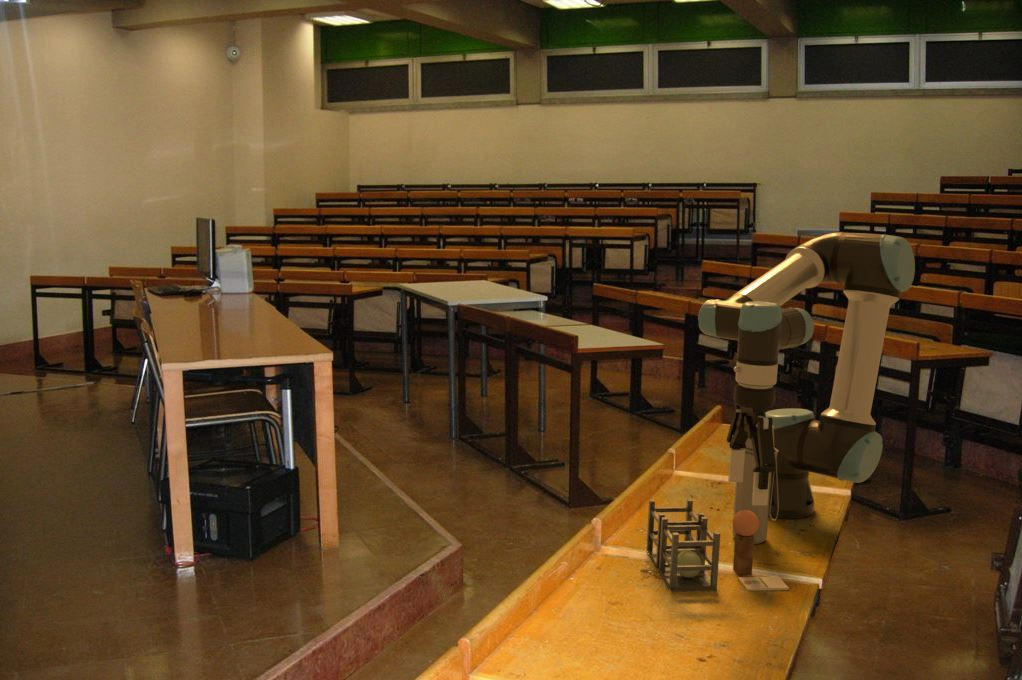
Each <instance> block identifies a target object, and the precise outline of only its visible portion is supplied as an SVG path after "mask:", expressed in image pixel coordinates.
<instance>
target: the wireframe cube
mask: <svg viewBox="0 0 1022 680" xmlns="http://www.w3.org/2000/svg"><path fill="white" fill-rule="evenodd" d="M685 505H686V506H672V507H671V506H669V507H667V506H663V507H662V506H661V507H656V500H655V499H648V511H647V512H648V515H647V534H646V550H647V551H648V553H649V555H650V556H649V555H648V556H649V557H650V560H651V561H652V563H653V564H654V565H653V566H655V567H656V569H657V570H659V556H660V537H661V519H662V517H666V514H665V513H685V520H684V521H683V520H681V521H677V520H675V521H669V520H668V526H677V525H701V517H705V514H704V513H705V512H697V513H696V512H695V511H694V509H693V508H694V507H693V506H694V500H693V499H692V498H691V499H690V498H689V499H688V498H686V504H685ZM655 521H656V523H657V529H654V527H655ZM677 532H678V534H679V536H680V535H684V538H683V539H684V540H683V541H700V530H696V536H695V535H694V534H693V532H692V530H684V531H670V533H671V534H672V533H677ZM654 544H655V547H654ZM671 546H672V544H667V547H666V549H671ZM678 549H699V546H679V547H678ZM647 551H646V552H647ZM648 553H647V554H648ZM697 555H698V556H699V554H697ZM668 556H669V557H670V559H671V554H668ZM665 567H669V565H668V564H667V562H666V565H665Z"/></svg>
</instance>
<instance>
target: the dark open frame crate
mask: <svg viewBox="0 0 1022 680" xmlns="http://www.w3.org/2000/svg"><path fill="white" fill-rule="evenodd" d="M668 521H669V518H668V517H666V516H665V517H662V519H661V537H660V556H659V569H658V573H659V575H660V576H661V578H662V579H663V581H664V583H665V585H666V586H667V588H668V589H669V591H670V592H681V591H684V592H685V591H686V592H687V591H717V590H718V576H719V560H720V546H721V533H720V531H713V532H711V531H710V529H709V528H708V523H709V518H708V517H707V516H704V517H701V525H677V526H668ZM684 530H691V531H697V530H700V541H684V540H679V539H680V535H679V534H678V532H677V533H672V534H671V533H670V531H684ZM707 538H708V539H709V540H707ZM668 541H669V542H670V544H671V545H672V546H671V549H666V547H667V545H668V544H667V542H668ZM679 546H699V549H678V547H679ZM707 547H712V548H711V549H712V550H711V551H712V552H711V556H710V555H709V553H708V552H707ZM683 551H692V552H694V553H696V554H699V557H700V559H701V563H702V565H686V566H677V562H678V554H679V553H681V552H683ZM668 554H671V559H670V557H669V556H668ZM666 562H667V564H668V565H669V567H665V565H666ZM706 562H707V564H706ZM677 571H700V572H699V573H698V574H697V575H696V576H694V577H691V578H686V577H683V576H681V575H680V574H679V573H678V572H677ZM708 571H710V573H708Z"/></svg>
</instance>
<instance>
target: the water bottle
mask: <svg viewBox="0 0 1022 680" xmlns="http://www.w3.org/2000/svg"><path fill="white" fill-rule="evenodd" d="M772 433H773V444H774V426H773V425H772ZM745 444H746V447H747V448H741V449H744V450H745V458H744V471H743V482H735V487H734V488H735V489H734V491H735V492H734V502H733V503H734V504H733V505H734V507H733V516H734V515H735V514H736V513H737V512H739V511H741V510H749V511H752V512H753V513H754V514H755V515H756V516H757V517H758V520H759V527H758V530H757V531H756V532H755V533H754V534H753V536H754V545H758V544H762V543H764V542H765V541H766V540H767V538H768V526H769V518H770V520H771V521H774V522H776V521H777V519H778V518H777V517H775V518H773V517H771V514H770V512H771V502H772V492H773V483H772V492H771V500H770V488H771V474H772V472H770V478H769V490H768V503H767V505H752V494H753V481H754V472H753V469H754V468H756V463H755V457H754V451H753V446H752V440H751V439H750V438H749V437H748V438H747V441H746V443H745ZM774 449H775V453H774V454H775V462H776V477H777V459H776V458H777V454H778V451H779V450H777V449H776V448H774ZM765 465H766V464H765ZM773 482H774V474H773ZM769 501H770V510H769ZM777 502H778V511H779V500H778V480H777ZM778 511H777V516H778ZM768 515H769V516H768ZM736 533H737V532H736V531H735V530H734V528H733V527H732V533H731V534H732V535H733V538H734V539H735V535H736Z"/></svg>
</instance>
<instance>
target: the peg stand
mask: <svg viewBox="0 0 1022 680" xmlns="http://www.w3.org/2000/svg"><path fill="white" fill-rule="evenodd" d="M754 547H755V544H754V536H753V535H750V536H742V535H740V534H738V533H736V535H735V538H734V548H733V560H732V561H733V563H732V569H733V570H734V572H735V573H736V575H738V576H740V575H742V576H743V575H744V576H745V575H750V576H751V575H753V564H754V563H753V560H754V549H755V548H754Z"/></svg>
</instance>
